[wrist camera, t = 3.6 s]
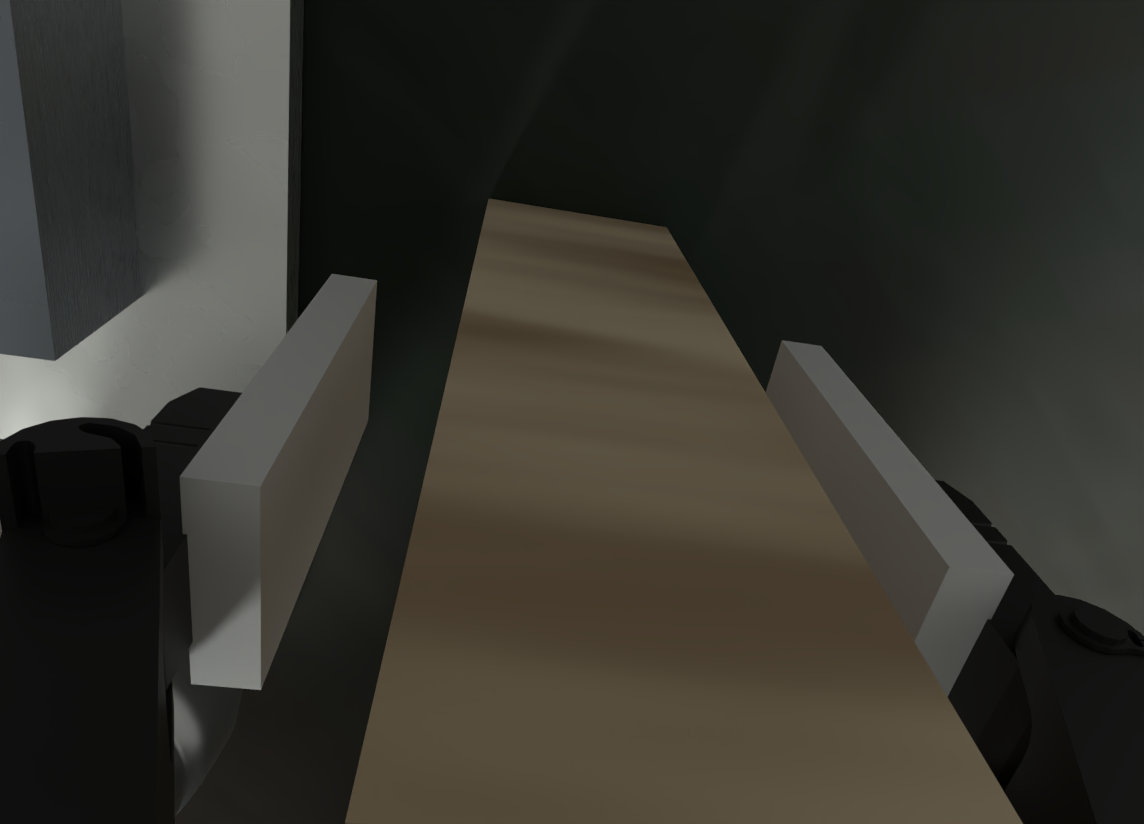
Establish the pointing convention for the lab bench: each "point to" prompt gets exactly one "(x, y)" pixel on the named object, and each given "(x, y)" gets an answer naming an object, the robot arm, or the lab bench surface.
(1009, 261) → the lab bench surface
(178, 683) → the plastic bottle
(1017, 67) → the lab bench surface
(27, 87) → the grey socket base
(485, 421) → the beech rail
